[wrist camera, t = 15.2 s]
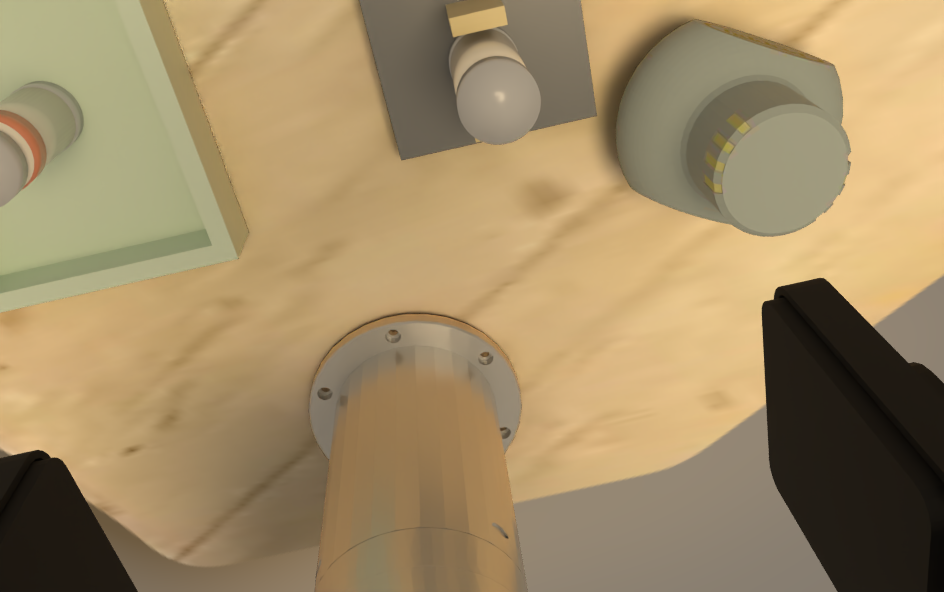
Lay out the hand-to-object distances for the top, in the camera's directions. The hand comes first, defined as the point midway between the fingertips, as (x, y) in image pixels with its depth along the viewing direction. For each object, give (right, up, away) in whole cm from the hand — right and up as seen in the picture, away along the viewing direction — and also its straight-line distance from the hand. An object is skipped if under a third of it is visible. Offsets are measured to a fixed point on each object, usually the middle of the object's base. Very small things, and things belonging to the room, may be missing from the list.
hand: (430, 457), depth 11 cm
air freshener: (+13, +12, +33) cm, 37 cm away
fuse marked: (-20, +11, +30) cm, 37 cm away
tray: (-20, +11, +30) cm, 38 cm away
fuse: (+1, +13, +29) cm, 32 cm away
